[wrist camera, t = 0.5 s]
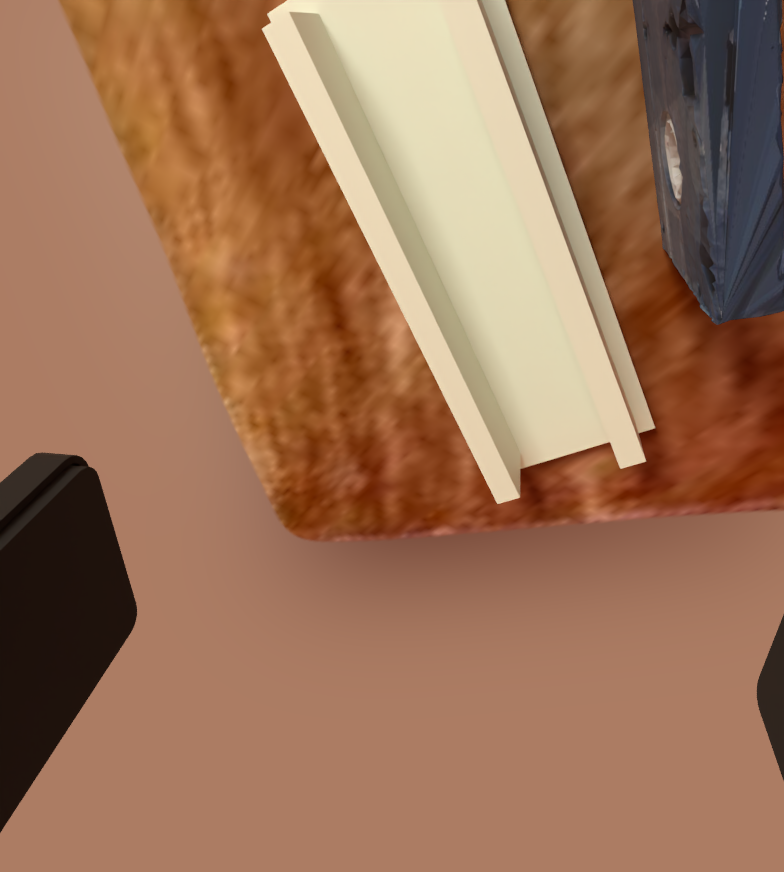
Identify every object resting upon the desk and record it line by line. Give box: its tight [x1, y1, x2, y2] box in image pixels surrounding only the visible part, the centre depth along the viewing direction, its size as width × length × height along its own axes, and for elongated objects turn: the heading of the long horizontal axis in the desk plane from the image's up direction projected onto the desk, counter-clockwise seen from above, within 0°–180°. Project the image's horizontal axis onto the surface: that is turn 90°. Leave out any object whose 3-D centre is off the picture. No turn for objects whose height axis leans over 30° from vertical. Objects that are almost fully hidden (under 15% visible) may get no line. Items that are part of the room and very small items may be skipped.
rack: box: [262, 0, 655, 504], centre depth 30 cm, size 9×25×5 cm, turn 26°
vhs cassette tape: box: [633, 0, 784, 325], centre depth 23 cm, size 18×3×10 cm, turn 16°
